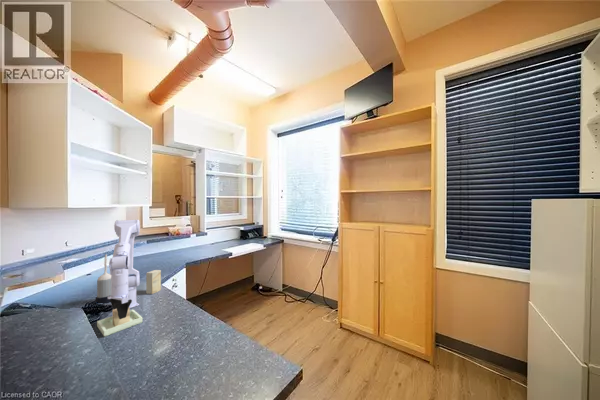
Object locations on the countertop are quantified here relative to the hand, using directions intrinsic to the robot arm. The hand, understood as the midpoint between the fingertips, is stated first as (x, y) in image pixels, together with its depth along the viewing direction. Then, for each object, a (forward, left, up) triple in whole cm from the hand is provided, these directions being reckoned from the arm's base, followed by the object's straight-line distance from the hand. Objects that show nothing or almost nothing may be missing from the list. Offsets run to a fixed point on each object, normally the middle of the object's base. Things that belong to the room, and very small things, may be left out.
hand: (120, 315), depth 93 cm
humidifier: (-36, +2, -4) cm, 36 cm away
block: (0, 0, -3) cm, 3 cm away
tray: (0, 0, -4) cm, 4 cm away
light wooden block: (-28, +22, -4) cm, 36 cm away
